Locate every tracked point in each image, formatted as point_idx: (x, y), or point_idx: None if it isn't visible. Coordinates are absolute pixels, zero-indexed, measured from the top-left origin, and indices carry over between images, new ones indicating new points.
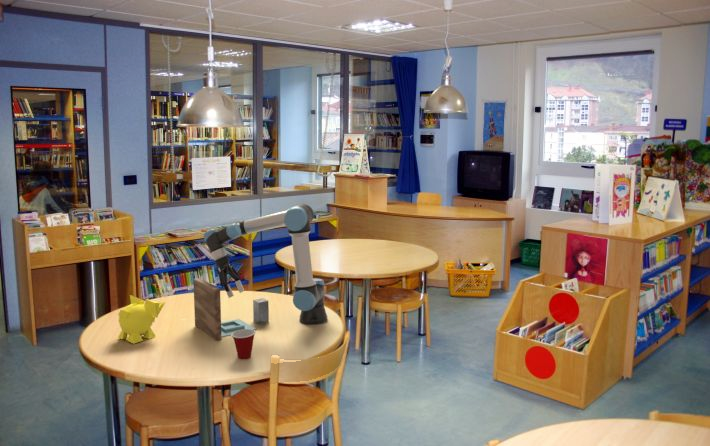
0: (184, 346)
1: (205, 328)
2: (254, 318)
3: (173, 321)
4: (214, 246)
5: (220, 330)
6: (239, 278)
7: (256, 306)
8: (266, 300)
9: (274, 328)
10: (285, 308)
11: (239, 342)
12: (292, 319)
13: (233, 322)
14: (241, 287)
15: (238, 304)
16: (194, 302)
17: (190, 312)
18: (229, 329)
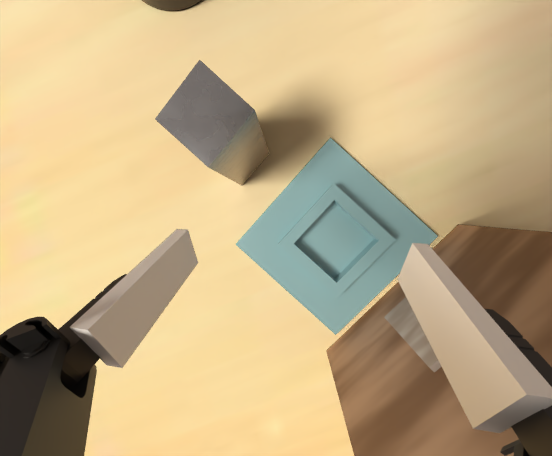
0: None
1: None
2: (244, 176)
3: (304, 449)
4: None
5: (496, 230)
6: (34, 346)
7: (244, 143)
8: (198, 75)
9: (302, 75)
10: (70, 119)
11: None
12: (185, 42)
13: (294, 244)
14: (167, 260)
15: (78, 307)
16: None
17: (204, 431)
18: (380, 227)
